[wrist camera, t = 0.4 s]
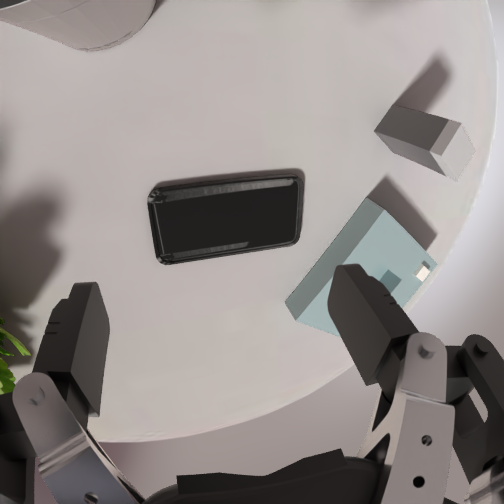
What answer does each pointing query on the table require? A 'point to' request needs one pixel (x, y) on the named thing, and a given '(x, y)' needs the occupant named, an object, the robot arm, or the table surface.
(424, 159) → the plug
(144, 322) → the table surface
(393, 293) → the socket
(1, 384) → the green flowering plant
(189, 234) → the phone
